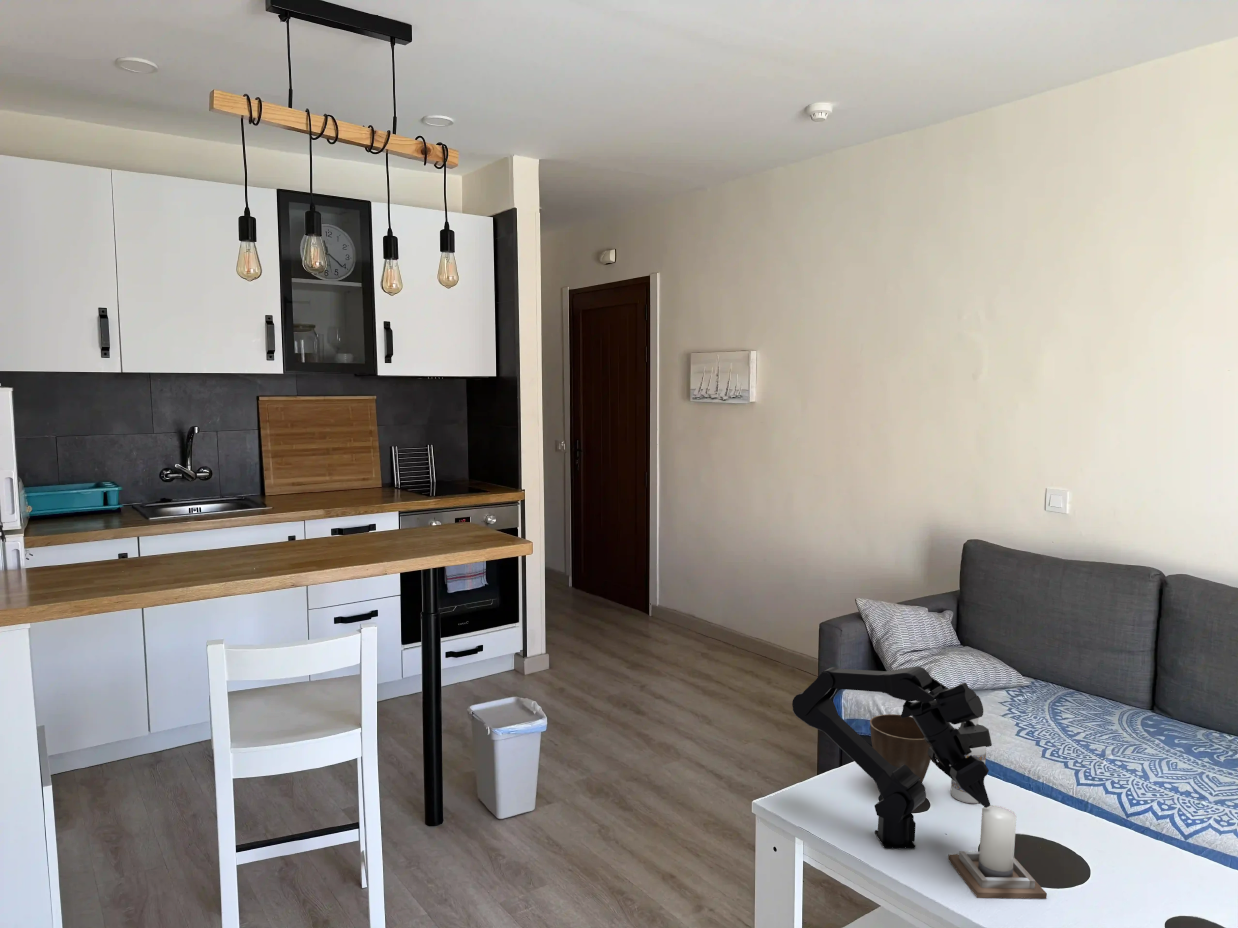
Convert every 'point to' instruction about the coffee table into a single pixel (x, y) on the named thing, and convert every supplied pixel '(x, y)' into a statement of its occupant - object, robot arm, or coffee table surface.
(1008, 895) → the walnut board
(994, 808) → the white cylinder
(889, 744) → the plant pot
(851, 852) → the coffee table surface
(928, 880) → the coffee table surface
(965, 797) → the bath foam
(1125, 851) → the coffee table surface
